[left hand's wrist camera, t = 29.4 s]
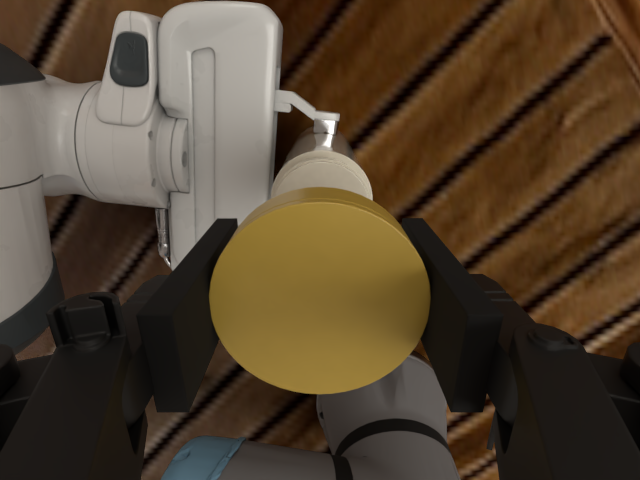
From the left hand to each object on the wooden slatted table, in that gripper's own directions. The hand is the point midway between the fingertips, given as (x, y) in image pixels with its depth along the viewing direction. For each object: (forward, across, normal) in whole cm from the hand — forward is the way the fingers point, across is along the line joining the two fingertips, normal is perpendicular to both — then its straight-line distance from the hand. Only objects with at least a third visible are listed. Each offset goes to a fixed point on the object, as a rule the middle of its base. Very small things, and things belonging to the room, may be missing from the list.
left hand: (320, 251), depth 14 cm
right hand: (+15, -1, 0) cm, 15 cm away
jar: (+21, 0, 0) cm, 21 cm away
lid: (-4, 0, 0) cm, 4 cm away
